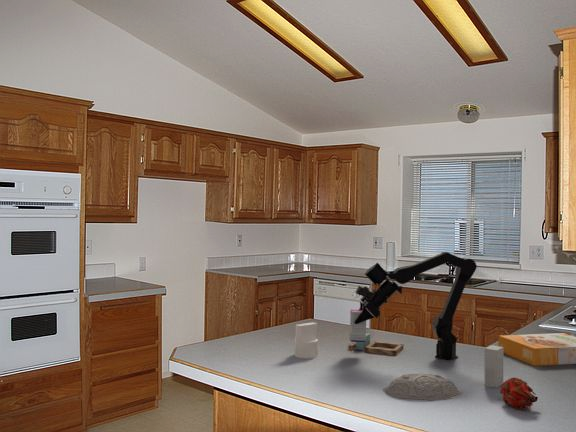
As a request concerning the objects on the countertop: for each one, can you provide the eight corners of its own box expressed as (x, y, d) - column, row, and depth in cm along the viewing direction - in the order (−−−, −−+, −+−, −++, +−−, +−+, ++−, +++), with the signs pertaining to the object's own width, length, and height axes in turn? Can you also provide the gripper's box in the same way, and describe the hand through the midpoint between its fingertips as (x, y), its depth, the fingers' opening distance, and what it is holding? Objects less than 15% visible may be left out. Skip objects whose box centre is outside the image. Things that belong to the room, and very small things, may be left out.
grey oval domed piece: (375, 384, 178) (377, 363, 177) (451, 387, 180) (453, 367, 179) (388, 405, 162) (390, 383, 162) (471, 408, 165) (473, 386, 164)
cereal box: (498, 335, 225) (563, 333, 232) (498, 351, 225) (563, 348, 232) (534, 348, 203) (605, 345, 210) (534, 365, 203) (604, 362, 210)
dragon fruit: (506, 403, 166) (531, 424, 154) (487, 389, 164) (510, 408, 152) (524, 381, 166) (550, 400, 154) (504, 366, 164) (529, 384, 152)
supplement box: (366, 342, 212) (366, 312, 212) (350, 342, 212) (351, 311, 212) (364, 338, 218) (364, 309, 218) (349, 338, 218) (349, 309, 218)
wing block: (361, 344, 232) (362, 332, 232) (369, 345, 231) (370, 333, 231) (355, 348, 225) (355, 336, 225) (364, 349, 224) (364, 337, 224)
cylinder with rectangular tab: (305, 359, 208) (305, 327, 208) (289, 354, 215) (290, 323, 215) (322, 355, 214) (323, 324, 214) (307, 351, 221) (307, 321, 221)
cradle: (403, 348, 227) (403, 344, 227) (395, 355, 216) (395, 350, 216) (358, 343, 236) (358, 339, 236) (348, 349, 224) (348, 345, 224)
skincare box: (490, 381, 183) (490, 344, 183) (503, 384, 180) (504, 346, 180) (483, 385, 178) (484, 348, 178) (497, 388, 176) (497, 350, 176)
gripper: (365, 275, 224) (338, 303, 225) (371, 281, 206) (341, 311, 206) (385, 295, 224) (357, 322, 224) (392, 302, 205) (362, 332, 206)
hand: (354, 321), depth 215 cm, fingers closed on supplement box, 6 cm apart
